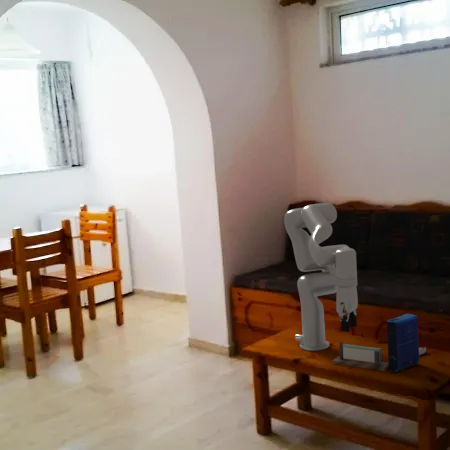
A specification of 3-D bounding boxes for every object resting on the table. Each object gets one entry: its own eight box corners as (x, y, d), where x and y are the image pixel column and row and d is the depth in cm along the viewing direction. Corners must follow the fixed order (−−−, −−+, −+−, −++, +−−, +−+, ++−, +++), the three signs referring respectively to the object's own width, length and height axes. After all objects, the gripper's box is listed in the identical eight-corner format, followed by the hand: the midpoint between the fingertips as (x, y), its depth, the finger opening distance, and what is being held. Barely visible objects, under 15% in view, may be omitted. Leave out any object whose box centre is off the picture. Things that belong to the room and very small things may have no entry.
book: (396, 374, 233) (394, 322, 231) (385, 371, 237) (383, 319, 235) (421, 364, 241) (419, 313, 239) (409, 361, 246) (408, 311, 243)
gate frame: (332, 363, 249) (331, 344, 248) (338, 358, 254) (337, 339, 253) (384, 371, 237) (383, 350, 236) (389, 365, 242) (389, 345, 241)
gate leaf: (343, 358, 249) (342, 344, 248) (344, 357, 250) (344, 343, 249) (380, 363, 240) (379, 349, 240) (381, 362, 242) (380, 348, 241)
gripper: (346, 276, 242) (348, 321, 244) (327, 286, 228) (330, 334, 230) (365, 277, 238) (367, 323, 240) (347, 287, 224) (349, 336, 226)
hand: (349, 328), depth 235 cm, fingers open, 5 cm apart
